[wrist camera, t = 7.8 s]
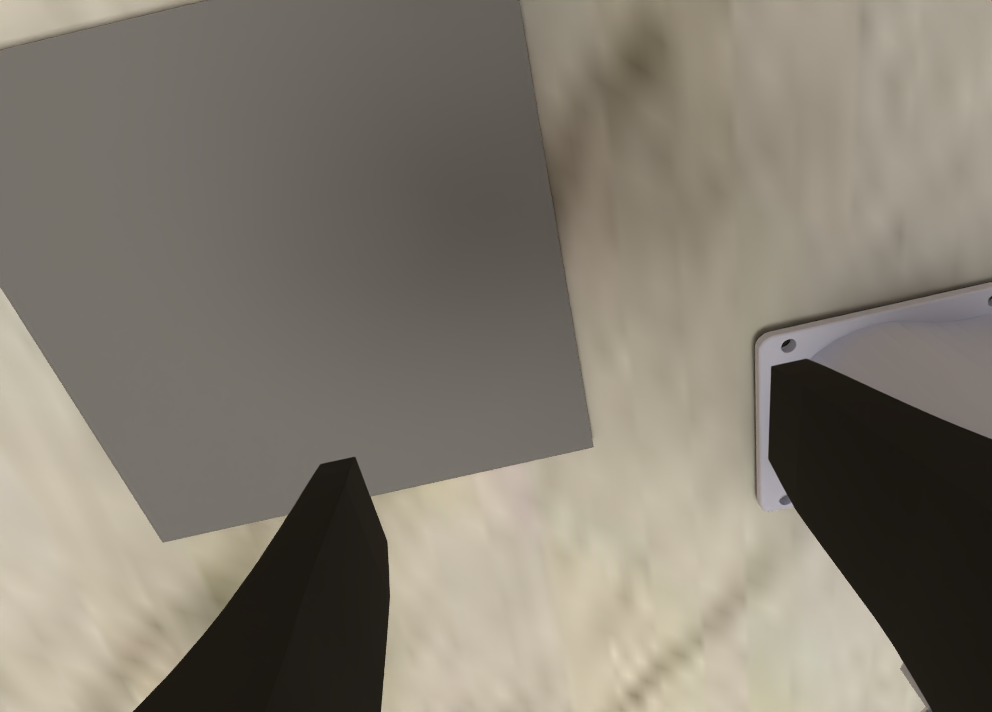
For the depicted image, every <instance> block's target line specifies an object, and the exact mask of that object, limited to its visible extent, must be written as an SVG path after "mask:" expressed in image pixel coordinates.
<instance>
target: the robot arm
mask: <svg viewBox="0 0 992 712" xmlns="http://www.w3.org/2000/svg"><path fill="white" fill-rule="evenodd" d="M991 296H992V282H989V283H985V284H980V285H976V286H971V287H967V288H962V289H958V290H953V291H949V292H944V293H940V294H935V295H931V296H927V297H922V298H918V299H913V300H909V301H904V302H900V303H895V304H891V305H886V306H882V307H877V308H873V309H868V310H864V311H860V312H855V313H851V314H846V315H842V316H837V317H833V318H828V319H824V320H819V321H815V322H810V323H806V324H801V325H797V326H793V327H788V328H784V329H779V330H775V331H770V332H767V333H765V334H763V335H762V336H761V337H759V339H758V340H757V342H756V345H755V390H756V470H757V502H758V504H759V505H760V507H761V508H762V509H763V510H764V511H768V512H769V511H776V510H781V509H786V508H790V507H794V508H795V509H796V511H797V512H798V514H799V515H800V516H801V518H802V519H803V521H804V522H805V523H806V525H807V526H808V528H809V529H810V530H811V532H812V533H813V534H814V536H815V537H816V539H817V540H818V541H819V543H820V544H821V546H822V547H823V548H824V550H825V551H826V552H827V554H828V555H829V556H830V558H831V559H832V560H833V562H834V563H835V565H836V566H837V567H838V569H839V570H840V571H841V573H842V574H843V575H844V577H845V578H846V579H847V581H848V582H849V584H850V585H851V586H852V588H853V589H854V590H855V592H856V593H857V594H858V596H859V597H860V598H861V600H862V601H863V602H864V604H865V605H866V607H867V608H868V609H869V611H870V612H871V613H872V615H873V616H874V617H875V619H876V620H877V622H878V623H879V625H880V626H881V628H882V629H883V631H884V632H885V634H886V635H887V637H888V638H889V640H890V641H891V643H892V644H893V646H894V647H895V649H896V651H897V652H898V654H899V656H900V657H901V659H902V661H903V662H904V663H903V664H902V666H901V668H900V669H901V671H902V672H903V674H904V675H905V677H906V678H907V680H908V681H909V683H910V684H911V686H912V687H913V689H914V690H915V691H916V693H917V694H918V696H919V697H920V699H921V700H922V702H923V703H924V705H925V706H926V707H925V708H924V709H923V710H922V711H920V712H992V299H991V300H989V298H990V297H991ZM988 300H989V301H988ZM788 339H791V340H790V343H789V344H788V345H787V346H785V347H781V345H782V343H783V342H784V341H786V340H788ZM784 495H786V496H785V497H783V498H781V497H782V496H784ZM389 602H390V587H389V563H388V545H387V539H386V537H385V534H384V531H383V529H382V526H381V524H380V521H379V518H378V516H377V513H376V510H375V508H374V505H373V502H372V500H371V497H370V494H369V492H368V489H367V486H366V484H365V481H364V478H363V476H362V473H361V470H360V468H359V465H358V462H357V460H356V457H350V458H346V459H341V460H337V461H332V462H327V463H323V464H320V465H319V467H318V468H317V470H316V471H315V473H314V474H313V476H312V477H311V479H310V480H309V482H308V484H307V485H306V487H305V488H304V490H303V492H302V493H301V495H300V497H299V498H298V500H297V501H296V503H295V505H294V506H293V508H292V510H291V511H290V513H289V514H288V516H287V518H286V519H285V521H284V522H283V524H282V526H281V527H280V529H279V530H278V532H277V533H276V535H275V536H274V538H273V539H272V541H271V542H270V544H269V545H268V547H267V548H266V550H265V551H264V553H263V555H262V556H261V558H260V559H259V561H258V562H257V564H256V565H255V566H254V568H253V569H252V571H251V572H250V574H249V575H248V576H247V578H246V579H245V580H244V582H243V583H242V585H241V586H240V587H239V589H238V590H237V591H236V593H235V594H234V596H233V597H232V598H231V600H230V601H229V602H228V604H227V605H226V607H225V608H224V609H223V611H222V612H221V613H220V614H219V616H218V617H217V618H216V620H215V621H214V622H213V623H212V625H211V626H210V627H209V628H208V629H207V631H206V632H205V633H204V634H203V636H202V637H201V638H200V639H199V640H198V641H197V643H196V644H195V645H194V646H193V647H192V648H191V650H190V651H189V652H188V653H187V654H186V655H185V657H184V658H183V659H182V660H181V661H180V662H179V664H178V665H177V666H176V667H175V668H174V669H173V670H172V671H171V673H170V674H169V675H168V676H167V677H166V678H165V679H164V680H163V681H162V682H161V683H160V684H159V685H158V686H157V687H156V688H155V689H154V690H153V691H152V692H151V694H150V695H149V696H148V697H147V698H146V699H145V700H144V701H143V702H142V703H141V704H140V705H139V706H138V707H137V708H136V709H135V710H134V711H133V712H381V704H382V691H383V679H384V667H385V655H386V643H387V629H388V616H389Z"/></svg>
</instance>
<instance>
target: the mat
mask: <svg viewBox="0 0 992 712" xmlns="http://www.w3.org/2000/svg"><path fill="white" fill-rule="evenodd" d="M0 287H1V289H2V290H3V292H4V293H5V295H6V297H7V298H8V300H9V301H10V303H11V304H12V306H13V308H14V309H15V311H16V312H17V314H18V315H19V317H20V319H21V320H22V322H23V323H24V325H25V326H26V328H27V330H28V331H29V333H30V334H31V336H32V337H33V339H34V341H35V342H36V344H37V345H38V347H39V349H40V350H41V352H42V353H43V355H44V356H45V358H46V360H47V361H48V363H49V364H50V366H51V367H52V369H53V371H54V372H55V374H56V375H57V377H58V378H59V380H60V382H61V383H62V385H63V386H64V388H65V389H66V391H67V393H68V394H69V396H70V397H71V399H72V400H73V402H74V404H75V405H76V407H77V408H78V410H79V411H80V413H81V415H82V416H83V418H84V419H85V421H86V423H87V424H88V426H89V427H90V429H91V430H92V432H93V434H94V435H95V437H96V438H97V440H98V441H99V443H100V445H101V446H102V448H103V449H104V451H105V452H106V454H107V456H108V457H109V459H110V460H111V462H112V463H113V465H114V467H115V468H116V470H117V471H118V473H119V474H120V476H121V478H122V479H123V481H124V482H125V484H126V485H127V487H128V489H129V490H130V492H131V493H132V495H133V497H134V498H135V500H136V501H137V503H138V504H139V506H140V508H141V509H142V511H143V512H144V514H145V515H146V517H147V519H148V520H149V522H150V523H151V525H152V526H153V528H154V530H155V531H156V533H157V534H158V536H159V537H160V539H161V541H162V542H167V541H172V540H176V539H181V538H185V537H190V536H194V535H199V534H203V533H208V532H212V531H217V530H221V529H226V528H231V527H235V526H240V525H244V524H249V523H253V522H258V521H262V520H267V519H271V518H276V517H280V516H285V515H288V514H289V513H290V511H291V510H292V508H293V506H294V505H295V503H296V501H297V500H298V498H299V497H300V495H301V493H302V492H303V490H304V488H305V487H306V485H307V484H308V482H309V480H310V479H311V477H312V476H313V474H314V473H315V471H316V470H317V468H318V467H319V465H320V464H323V463H327V462H332V461H337V460H341V459H346V458H350V457H356V460H357V462H358V465H359V468H360V470H361V473H362V476H363V478H364V481H365V484H366V486H367V489H368V492H369V494H370V497H371V496H375V495H380V494H384V493H389V492H393V491H398V490H402V489H407V488H411V487H416V486H420V485H425V484H430V483H434V482H439V481H443V480H448V479H452V478H457V477H461V476H466V475H470V474H475V473H479V472H484V471H488V470H493V469H497V468H502V467H506V466H511V465H515V464H520V463H524V462H529V461H534V460H538V459H543V458H547V457H552V456H556V455H561V454H565V453H570V452H574V451H579V450H583V449H588V448H592V447H593V441H592V435H591V429H590V423H589V417H588V411H587V405H586V399H585V393H584V387H583V381H582V375H581V369H580V363H579V357H578V351H577V345H576V339H575V333H574V327H573V321H572V315H571V309H570V303H569V297H568V291H567V285H566V279H565V273H564V267H563V261H562V255H561V249H560V243H559V237H558V231H557V225H556V219H555V214H554V208H553V202H552V196H551V190H550V184H549V178H548V172H547V166H546V160H545V154H544V148H543V142H542V136H541V130H540V124H539V118H538V112H537V106H536V100H535V94H534V88H533V82H532V76H531V70H530V64H529V58H528V52H527V46H526V40H525V34H524V28H523V22H522V16H521V10H520V4H519V0H206V1H202V2H198V3H194V4H189V5H185V6H181V7H177V8H173V9H169V10H164V11H160V12H156V13H152V14H148V15H144V16H139V17H135V18H131V19H127V20H123V21H119V22H115V23H110V24H106V25H102V26H98V27H94V28H90V29H85V30H81V31H77V32H73V33H69V34H65V35H60V36H56V37H52V38H48V39H44V40H40V41H36V42H31V43H27V44H23V45H19V46H15V47H11V48H6V49H2V50H0Z"/></svg>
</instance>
